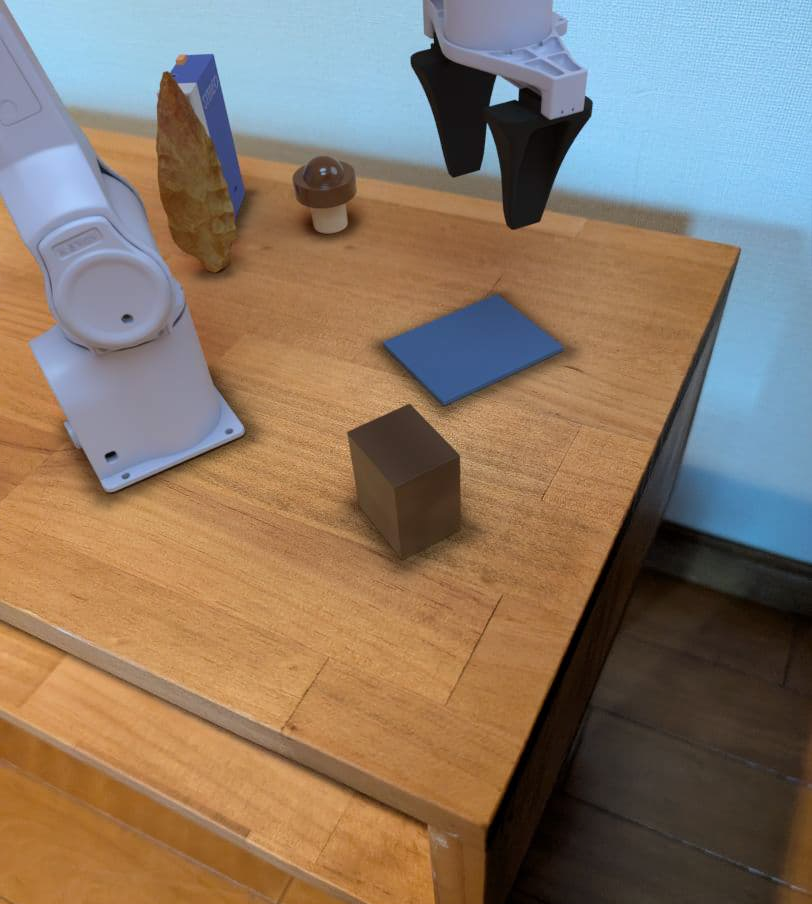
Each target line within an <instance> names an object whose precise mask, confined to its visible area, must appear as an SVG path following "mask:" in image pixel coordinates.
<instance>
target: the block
mask: <svg viewBox="0 0 812 904" xmlns="http://www.w3.org/2000/svg"><path fill="white" fill-rule="evenodd" d="M346 434H347V440H348V447H349V452H350V460H351V465H352V472H353V477H354V478H353V479H354V483H355V489H356V495H357V501H358V507H359V508H360V509H361V510H362V512H363V513H364V514H365V516H366V517H367V518H368V519H369V520H370V522H371V523H372V525H373V526H374V527H375V528H376V529H377V531H378V532H379V533H380V534H381V536H382V538H384V540H385V541H386V542H387V543H388V545H389V546H390V547H391V549H392V550H393V551H394V552H395V553H396V554H397V556H398V557H399V558H400V560H401V561H404V560H405V559H408V558H409V557H412V556H414V555H415V554H417V553H419V552H421V551H423V550H424V549H427V548H429V547H430V546H433V545H434V544H437V543H438V542H440V541H442V540H445V539H446V538H448V537H450V536H452V535H454V534H456V533H458V532H460V531H461V530H462V507H461V506H462V499H461V495H462V494H461V493H462V492H461V491H462V489H461V487H462V486H461V455H460V453H458V451H457V450H456V449H455V448H454V447H452V445H451V444H450V443H449V442H448V441H447V440H446V439H445V438H444V437H443V436H442V435H441V434H440V433H439V432H438V431H437V429H436V428H434V427H433V426H432V425H431V424H430V422H429V421H428V420H427V419H426V418H425V417H424V416H423V415H422V414H421V413H420V412H419V411H418V410H417V409H416V408H415V407H414V406H413V405H412V404H411V403H407V404H405V405H403V406H401V407H399V408H396V409H394V410H392V411H390V412H387V413H385V414H383V415H381V416H379V417H376V418H374V419H372V420H370V421H368V422H365V423H363V424H361V425H358V426H356V427H355V428H352V429H349V430H348V431H347V432H346Z"/></svg>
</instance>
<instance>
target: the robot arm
mask: <svg viewBox="0 0 812 904" xmlns="http://www.w3.org/2000/svg"><path fill="white" fill-rule="evenodd" d="M553 4H554V0H422V19H423V21H422V23H423V35H424V36H425V37H427V38H429V39H431V40H433V42H432V43H430V48H427V49H423V50H419V51H416V52H414V53H412V54H411V56H410V57H409V59H410V60H409V61H410V67H411V68H412V71H413V72H414V74H415V76H416V77H417V80H418V81H419V83H420V85H421V88H422V90H423V92H424V95H425V96H426V99H427V102H428V104H429V107H430V110H431V113H432V116H433V119H434V122H435V126H436V130H437V135H438V139H439V142H440V147H441V151H442V155H443V159H444V163H445V166H446V170H447V173H448V175H449V176H450V177H451V178H453V179H455V178H458V177H461V176H464V175H465V176H466V175H468V174H471V173H475V172H479V171H481V169H482V165H483V161H484V156H485V151H486V150H485V148H486V138H487V128H488V129H489V130H490V133H491V136H492V139H493V142H494V146H495V149H496V150H495V151H496V154H497V158H498V159H497V160H498V164H499V169H500V181H501V182H500V183H501V201H502V212H503V217H504V218H503V219H504V221H505V225H506V227H508V229H510V230H512V231H516V230H518V229H522V228H526V227H528V226H531V225H535V224H539V223H540V222H541V221H542V218H543V216H544V212H545V209H546V207H547V204H548V200H549V198H550V195H551V192H552V189H553V187H554V183H555V181H556V178H557V176H558V173H559V171H560V168H561V167H562V164H563V162H564V160H565V158H566V156H567V154H568V152H569V150H570V148H571V147H572V145H573V143H574V142H575V140H576V139H577V137H578V136H579V134H580V132H581V131H582V130H583V128H584V127H585V126H586V124H587V123H588V121H589V120H590V119H591V118H592V115H593V106H594V101H593V100H592V98H590V97H589V96H587V95H586V90H587V81H588V73H589V72H588V71H589V70H588V69H587V68H586V67H584V66H582V65H581V64H579V63H578V62H577V61H576V60H575V59H574V57H573V56H572V55H571V53H570V51H569V49H568V48H567V46H566V45H565V43H564V41H563V39H562V36H564V35H566V34H567V32H568V19H567V18H566V17H564V16H563V15H561V14H558V13H557V12H555V11H553ZM28 41H29V40H28V39H27V38H26V36H25V34H24V32H23V31H22V29H21V27H20V26H19V24H18V22H17V21H16V19H15V17H14V16H13V14H12V12H11V10H10V9H9V7H8V5H7V3H6V2H5V0H0V197H1V199H2V202H3V204H4V205H5V207H6V209H7V212H8V214H9V216H10V218H11V220H12V223H13V225H14V227H15V229H16V231H17V233H18V235H19V237H20V239H21V241H22V243H23V245H24V246H25V247H26V249H27V251H29V253H30V254H31V256H32V257H33V258H34V261H36V264H37V265H38V267H39V269H40V271H41V274H42V278H43V285H44V292H45V299H46V303H47V307H48V309H49V311H50V313H51V315H52V317H53V318H54V320H55V321H56V323H55V324H54V325H52V326H51V327H50V328H49V329H47V330H46V331H44V332H43V333H41V334H39V335H38V336H35V337H33V338H32V339H31V340H29V341H28V342H27V344H28V346H29V348H30V350H31V352H32V354H33V356H34V358H35V360H36V362H37V364H38V366H39V368H40V370H41V372H42V374H43V375H44V377H45V378H44V379H46V382H47V383H48V385H49V387H50V390H51V391H52V393H53V395H54V397H55V399H56V401H57V403H58V405H59V406H60V408H61V410H62V412H63V415H65V418H66V421H64V422H63V425H64V427H65V429H66V431H67V433H68V435H69V437H70V439H71V441H72V443H73V445H74V447H75V449H76V450H79V449H82V450H83V452H84V454H85V455H86V458H87V459H88V461H89V463H90V464H91V467H92V469H93V471H94V473H95V474H96V476H97V478H98V480H99V482H100V484H101V486H102V488H103V490H104V491H105V492H107V493H113V492H114V493H115V492H117V491H120V490H121V489H124V488H125V487H129V486H131V485H133V484H135V483H137V482H140V481H142V480H145V479H146V478H149V477H152V476H153V475H156V474H158V473H160V472H163V471H165V470H167V469H169V468H172V467H174V466H176V465H179V464H181V463H183V462H185V461H188V460H190V459H192V458H195V457H197V456H199V455H202V454H204V453H206V452H208V451H211V450H213V449H215V448H218V447H220V446H223V445H225V444H227V443H229V442H231V441H233V440H236V439H238V438H241V437H242V436H244V434H245V433H246V430H245V426H244V425H243V423H242V422H241V421H240V419H239V418H238V416H237V415H236V414H235V412H234V411H233V410H232V408H231V407H230V405H229V404H228V402H227V401H226V400H225V398H224V397H223V396H222V394H221V392H219V390H218V389H217V387H216V386H215V384H214V382H213V378H212V376H211V373H210V369H209V366H208V363H207V361H206V357H205V354H204V351H203V349H202V348H203V347H202V345H201V342H200V338H199V335H198V331H197V329H196V326H195V323H194V319H193V317H192V313H191V311H190V308H189V305H188V301H187V298H186V296H185V292H184V289H183V286H182V285H181V283H180V282H179V280H177V279H176V278H175V277H173V273H172V271H171V268H170V267H169V266H168V264H167V263H166V261H165V259H163V257H162V255H161V252H160V249H159V246H158V244H157V242H156V239H155V236H154V234H153V231H152V229H151V227H150V224H149V223H150V221H149V217H148V214H147V213H148V212H147V209H146V206H145V203H144V201H143V198H142V197H141V195H140V193H139V191H137V189H136V188H135V187H134V185H133V184H132V183H131V182H129V180H127V178H125V177H124V176H123V175H121V174H120V173H119V172H117V171H115V170H114V169H112V168H111V167H110V166H109V165H107V164H106V162H104V160H102V158H101V157H100V156H99V155H98V153H97V151H96V149H95V148H94V147H93V145H92V143H91V141H90V139H89V138H88V136H87V135H86V133H85V132H84V130H83V129H82V128H81V126H80V125H79V124H78V123H77V121H76V120H75V119H74V118H73V116H72V115H71V114H70V111H68V109H67V107H66V106H65V103H64V102H63V100H62V98H61V97H60V94H59V93H58V91H57V90H56V88H55V86H54V84H53V83H52V82H51V79H50V78H49V76H48V74H47V73H46V71H45V69H44V67H43V65H42V64H41V62H40V61H39V59H38V57H37V55H36V53H35V51H34V49H33V48H32V46H31V45H30V43H29V42H28ZM497 76H499V77H501V79H504V80H505V81H506V82H508V83H509V84H511V85H512V86H514V87H516V88H517V89H518V98H517V99H518V100H517V99H512V100H508V101H504V102H500V103H495V104H493V105H491V100H492V96H493V91H494V87H495V84H496V80H497Z"/></svg>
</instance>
